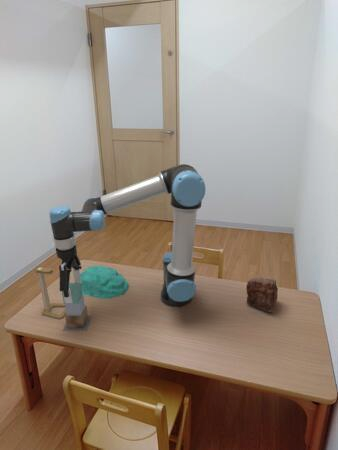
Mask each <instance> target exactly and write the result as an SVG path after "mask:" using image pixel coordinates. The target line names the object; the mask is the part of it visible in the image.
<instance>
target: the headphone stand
mask: <svg viewBox="0 0 338 450" xmlns="http://www.w3.org/2000/svg"><path fill="white" fill-rule="evenodd" d="M53 271H54V270H53V268H52V267H51V268H47V267H42V266H38V267H37V268H36V269H35V273H36V274H37V276H38V281H39V286H40V292H41V299H42V302H43V308H44V309H43V310H42V311H41V315H42V316H45V317H48V318H51V319H56V320H63V319H64V318H65V316H66V308H65V304H64V302H63V303H62V302H61V303H59V302H57V303H52V302H51V301H50V297H49V293H48V287H47V283H46V279H45V274H46V275H51V274H53ZM53 308H64V309H63V311H62V312H61V313H60V314H57V313H53V312H51V310H53Z"/></svg>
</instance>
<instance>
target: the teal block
mask: <svg viewBox="0 0 338 450" xmlns="http://www.w3.org/2000/svg"><path fill="white" fill-rule="evenodd" d="M69 288H70V291H71V296H72V303H65V300H64V295H63V291H61V295H62V301H63V303H64V304H79V301H80V299H81V297H82V288H81V283H75V282H69Z"/></svg>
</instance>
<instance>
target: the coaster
mask: <svg viewBox="0 0 338 450" xmlns="http://www.w3.org/2000/svg"><path fill="white" fill-rule="evenodd" d="M92 317H93V314H88V319H87V321H86V324H85V327H84V328H67V324H66V323H64V324H65V325H64V327H63V329H62V331H63V332H64V331H65V332H74V331H75V332H76V331H77V332H78V331H79V332H80V331H81V332H87V330H88V329H89V328H88V327H89V325H90V322H91V320H92Z"/></svg>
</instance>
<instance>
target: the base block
mask: <svg viewBox="0 0 338 450" xmlns="http://www.w3.org/2000/svg"><path fill="white" fill-rule="evenodd" d="M87 307H88V306H87V305H85V308H84V310H83V313H82V315H81V316H67V314H66V315H65V316H64V318H65V324H67V328H84V327H85V324H86V321H87V319H88V315H89V313H88V309H87Z"/></svg>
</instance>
